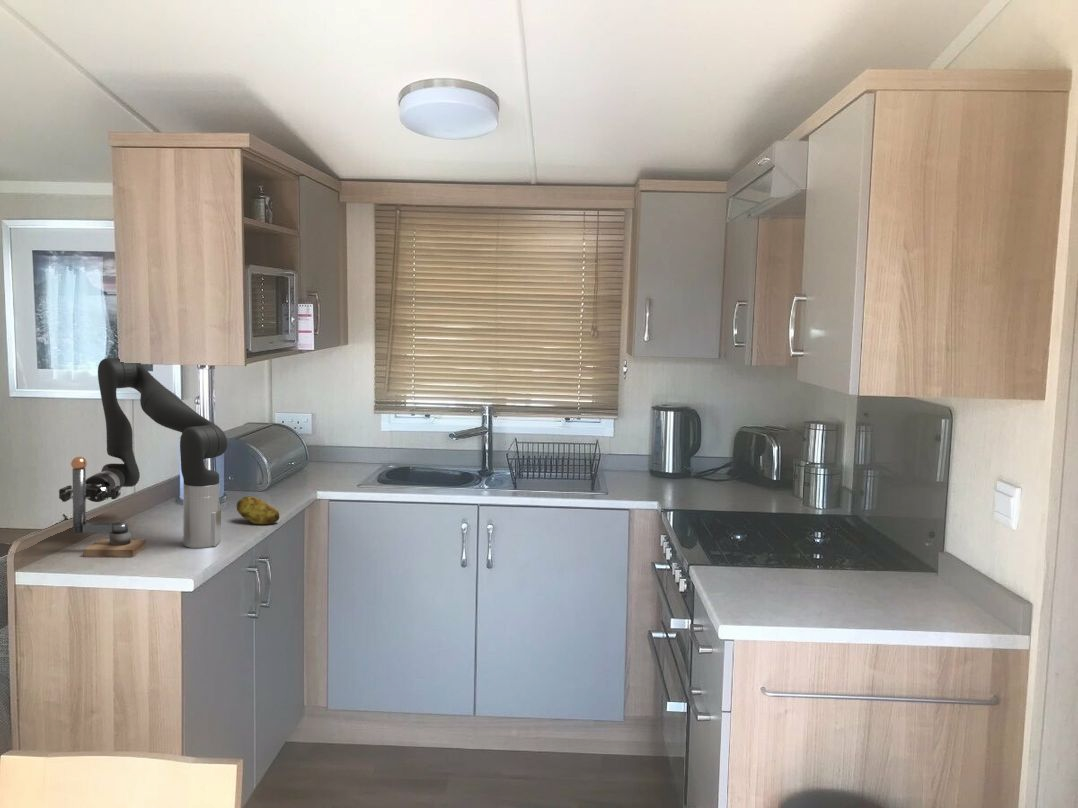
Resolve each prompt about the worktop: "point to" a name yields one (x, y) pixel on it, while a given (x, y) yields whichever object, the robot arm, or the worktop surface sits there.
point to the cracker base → (115, 546)
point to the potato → (257, 511)
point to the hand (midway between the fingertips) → (81, 498)
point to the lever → (80, 504)
